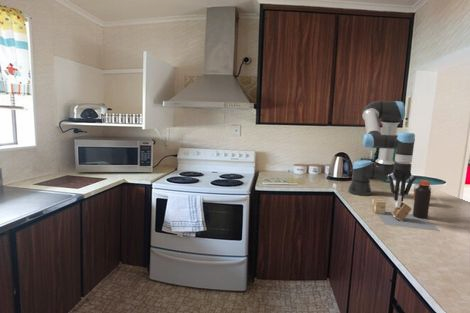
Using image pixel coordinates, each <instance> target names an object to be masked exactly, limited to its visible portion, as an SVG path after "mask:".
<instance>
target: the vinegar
mask: <svg viewBox="0 0 470 313" xmlns="http://www.w3.org/2000/svg"><path fill="white" fill-rule="evenodd" d="M418 184H419V187H418V188H417V189H416V192H415V200H414V199H413V208H412V214H413V216H414V217H417V218H421V219H428V216H429V209H430V203H431V195H432V189H431V190H430V189H429V186H430V185H431V181H429V180H425V179H420V180H419V179H418ZM430 187H431V186H430Z"/></svg>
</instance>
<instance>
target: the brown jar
mask: <svg viewBox="0 0 470 313" xmlns="http://www.w3.org/2000/svg"><path fill="white" fill-rule="evenodd" d="M412 187H413V201H414V200H415V192H416V189H417V188H418V187H419V183H414V184H413V186H412ZM429 189H430V190H431V191H432V186H429Z"/></svg>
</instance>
